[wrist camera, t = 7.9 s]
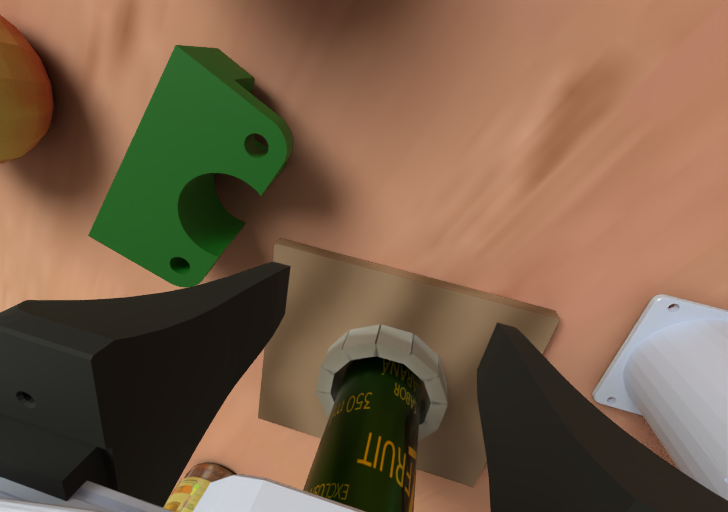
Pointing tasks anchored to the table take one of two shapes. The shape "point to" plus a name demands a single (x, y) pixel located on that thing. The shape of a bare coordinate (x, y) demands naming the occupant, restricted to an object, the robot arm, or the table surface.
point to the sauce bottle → (194, 486)
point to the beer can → (371, 439)
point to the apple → (21, 95)
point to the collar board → (388, 348)
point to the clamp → (190, 167)
